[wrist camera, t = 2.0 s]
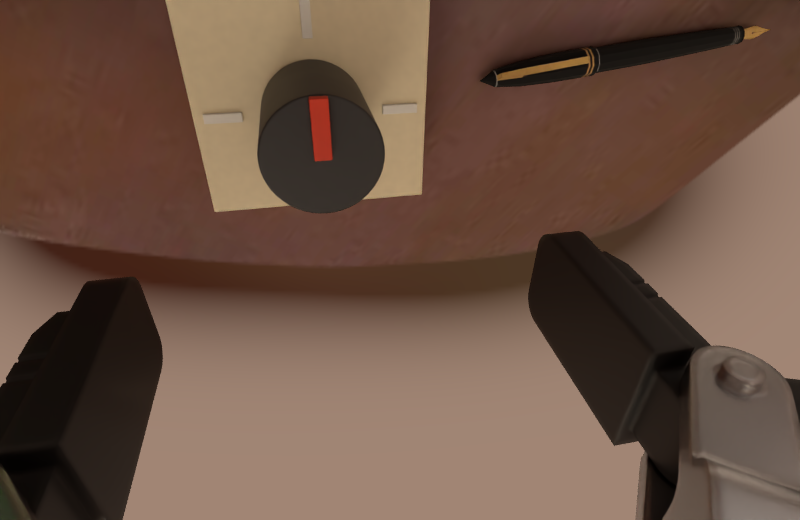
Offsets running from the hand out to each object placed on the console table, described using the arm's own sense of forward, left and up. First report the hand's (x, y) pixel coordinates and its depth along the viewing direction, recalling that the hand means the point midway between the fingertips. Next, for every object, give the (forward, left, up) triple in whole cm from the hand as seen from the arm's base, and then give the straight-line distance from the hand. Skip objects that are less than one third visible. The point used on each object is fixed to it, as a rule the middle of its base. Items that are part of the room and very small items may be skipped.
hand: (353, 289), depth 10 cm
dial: (0, 0, -11) cm, 11 cm away
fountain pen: (+14, +1, -14) cm, 20 cm away
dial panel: (0, 0, -14) cm, 14 cm away
